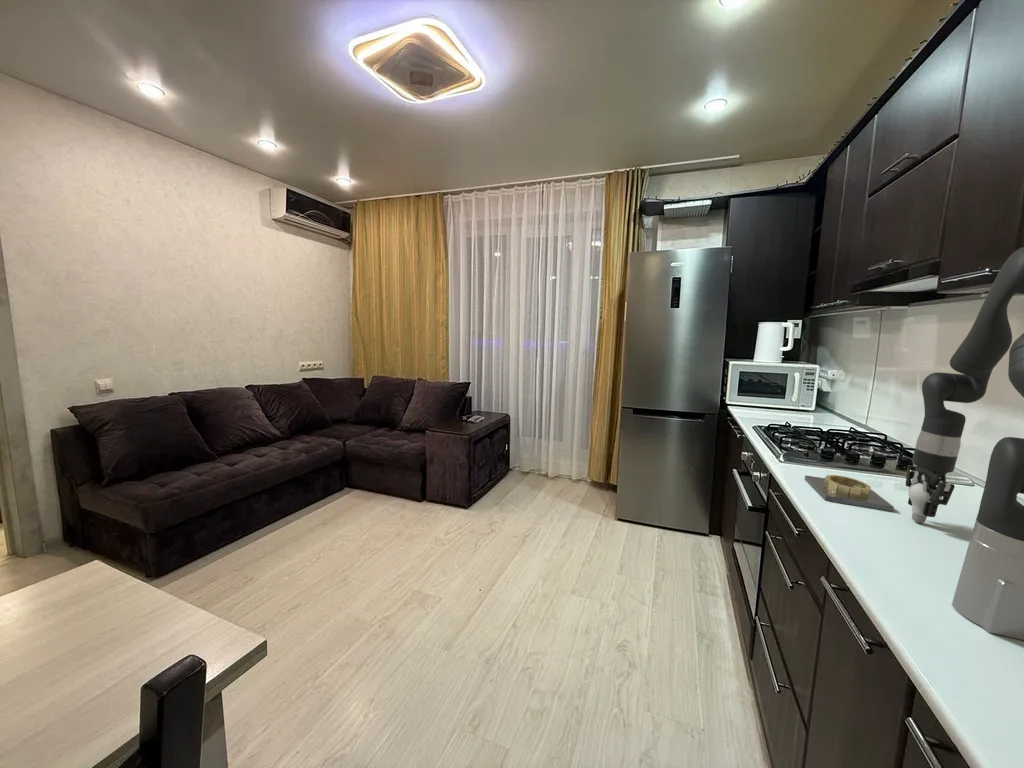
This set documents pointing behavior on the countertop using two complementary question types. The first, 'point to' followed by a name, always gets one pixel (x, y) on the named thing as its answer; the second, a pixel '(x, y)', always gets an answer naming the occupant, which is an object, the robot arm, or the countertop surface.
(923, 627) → the countertop surface
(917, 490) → the lightbulb
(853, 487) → the lamp socket
